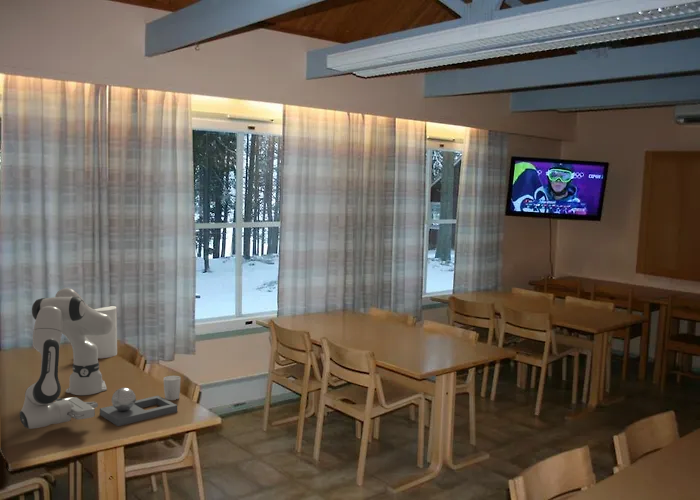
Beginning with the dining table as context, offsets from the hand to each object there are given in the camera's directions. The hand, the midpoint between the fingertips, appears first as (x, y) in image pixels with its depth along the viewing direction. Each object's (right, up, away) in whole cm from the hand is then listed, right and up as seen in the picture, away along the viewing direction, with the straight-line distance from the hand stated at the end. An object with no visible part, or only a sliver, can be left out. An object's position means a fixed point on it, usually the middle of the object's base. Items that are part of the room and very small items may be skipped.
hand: (96, 404), depth 286 cm
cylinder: (-39, +3, +112) cm, 119 cm away
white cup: (+23, -6, +36) cm, 43 cm away
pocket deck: (+14, -7, +14) cm, 21 cm away
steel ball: (+9, 0, +9) cm, 12 cm away
